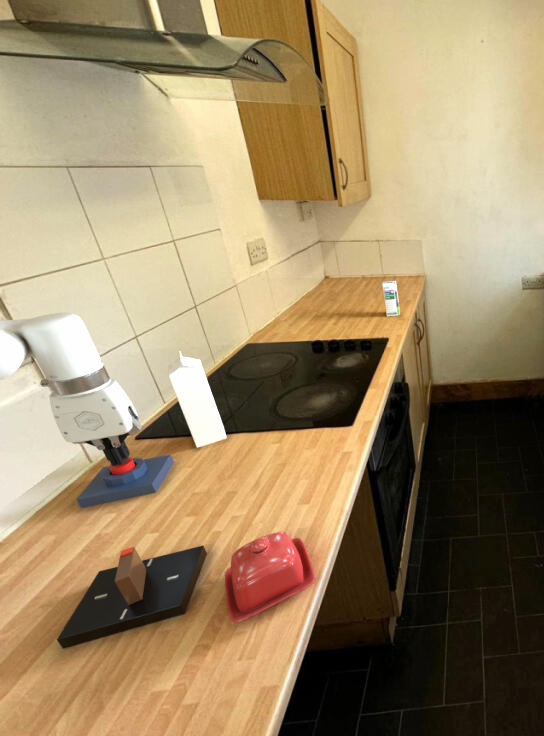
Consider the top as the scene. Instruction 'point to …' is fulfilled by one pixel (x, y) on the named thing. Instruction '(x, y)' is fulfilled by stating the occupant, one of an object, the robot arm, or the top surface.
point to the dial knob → (130, 576)
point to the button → (122, 467)
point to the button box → (126, 482)
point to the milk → (196, 400)
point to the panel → (160, 601)
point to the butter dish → (266, 574)
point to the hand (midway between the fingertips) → (121, 461)
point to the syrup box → (391, 298)
